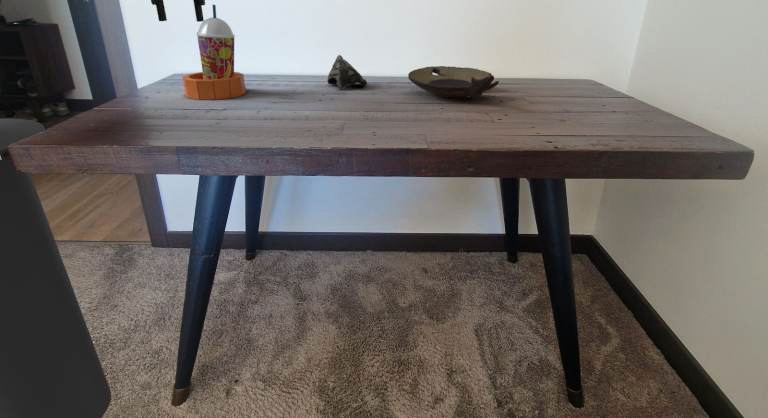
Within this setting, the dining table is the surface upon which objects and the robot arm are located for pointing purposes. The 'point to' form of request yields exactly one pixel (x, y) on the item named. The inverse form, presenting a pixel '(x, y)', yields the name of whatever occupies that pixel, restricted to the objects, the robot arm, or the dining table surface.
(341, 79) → the fossil
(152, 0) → the robot arm
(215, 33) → the smoothie
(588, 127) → the dining table surface
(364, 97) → the dining table surface
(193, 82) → the ring
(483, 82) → the broken bowl
